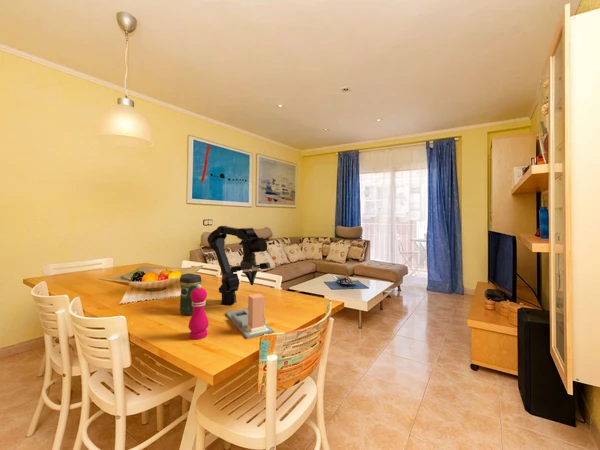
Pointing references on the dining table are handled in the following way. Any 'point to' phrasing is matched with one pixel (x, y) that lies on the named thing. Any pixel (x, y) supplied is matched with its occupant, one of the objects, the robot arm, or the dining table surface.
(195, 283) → the coffee jar
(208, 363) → the dining table surface
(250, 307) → the salmon pink tall box
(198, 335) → the pepper mill
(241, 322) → the track
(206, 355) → the dining table surface
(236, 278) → the robot arm
